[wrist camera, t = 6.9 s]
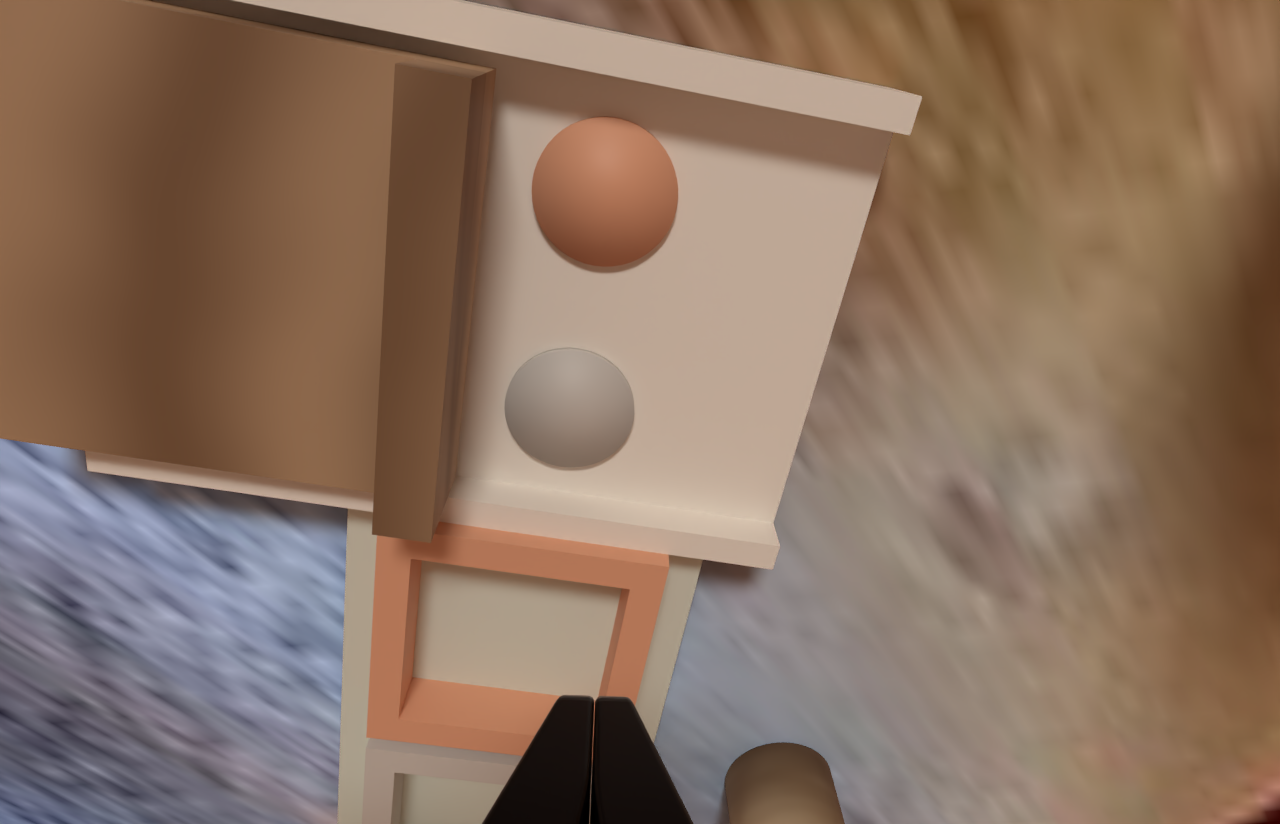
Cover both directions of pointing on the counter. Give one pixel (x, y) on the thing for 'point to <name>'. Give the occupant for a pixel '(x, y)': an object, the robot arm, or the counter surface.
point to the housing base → (628, 276)
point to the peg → (781, 787)
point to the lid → (239, 247)
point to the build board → (487, 657)
